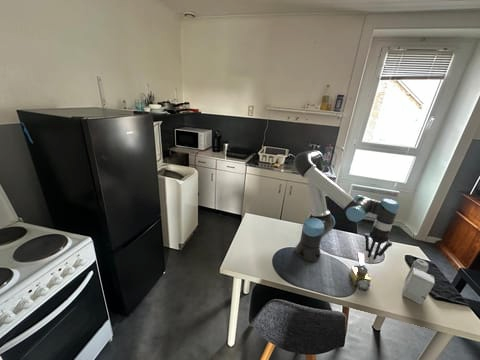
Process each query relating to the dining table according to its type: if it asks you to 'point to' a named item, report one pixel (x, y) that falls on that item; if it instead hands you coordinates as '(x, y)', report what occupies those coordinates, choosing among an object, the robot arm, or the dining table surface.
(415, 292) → the skincare box
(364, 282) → the valve
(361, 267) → the lever
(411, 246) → the dining table surface
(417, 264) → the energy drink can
